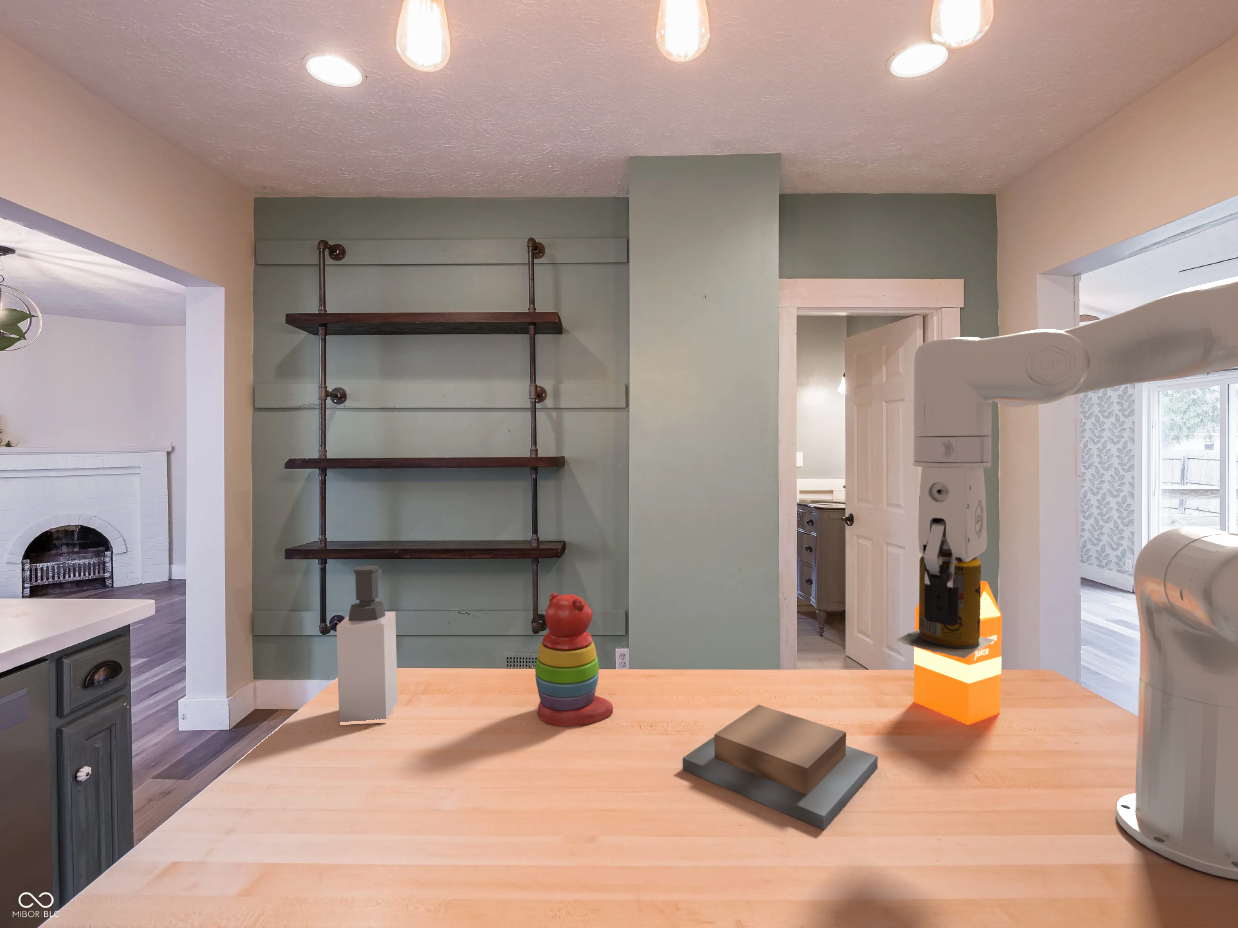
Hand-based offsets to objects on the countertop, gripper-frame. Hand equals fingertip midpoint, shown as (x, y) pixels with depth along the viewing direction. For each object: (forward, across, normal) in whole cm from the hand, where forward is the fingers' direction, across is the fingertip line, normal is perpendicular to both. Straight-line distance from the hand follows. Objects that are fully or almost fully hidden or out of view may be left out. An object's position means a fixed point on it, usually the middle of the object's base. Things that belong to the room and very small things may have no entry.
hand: (949, 613), depth 69 cm
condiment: (+3, -1, 0) cm, 3 cm away
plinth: (+21, -6, +17) cm, 28 cm away
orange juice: (+21, +27, +5) cm, 35 cm away
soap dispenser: (+21, -31, +71) cm, 81 cm away
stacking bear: (+21, -12, +48) cm, 54 cm away
